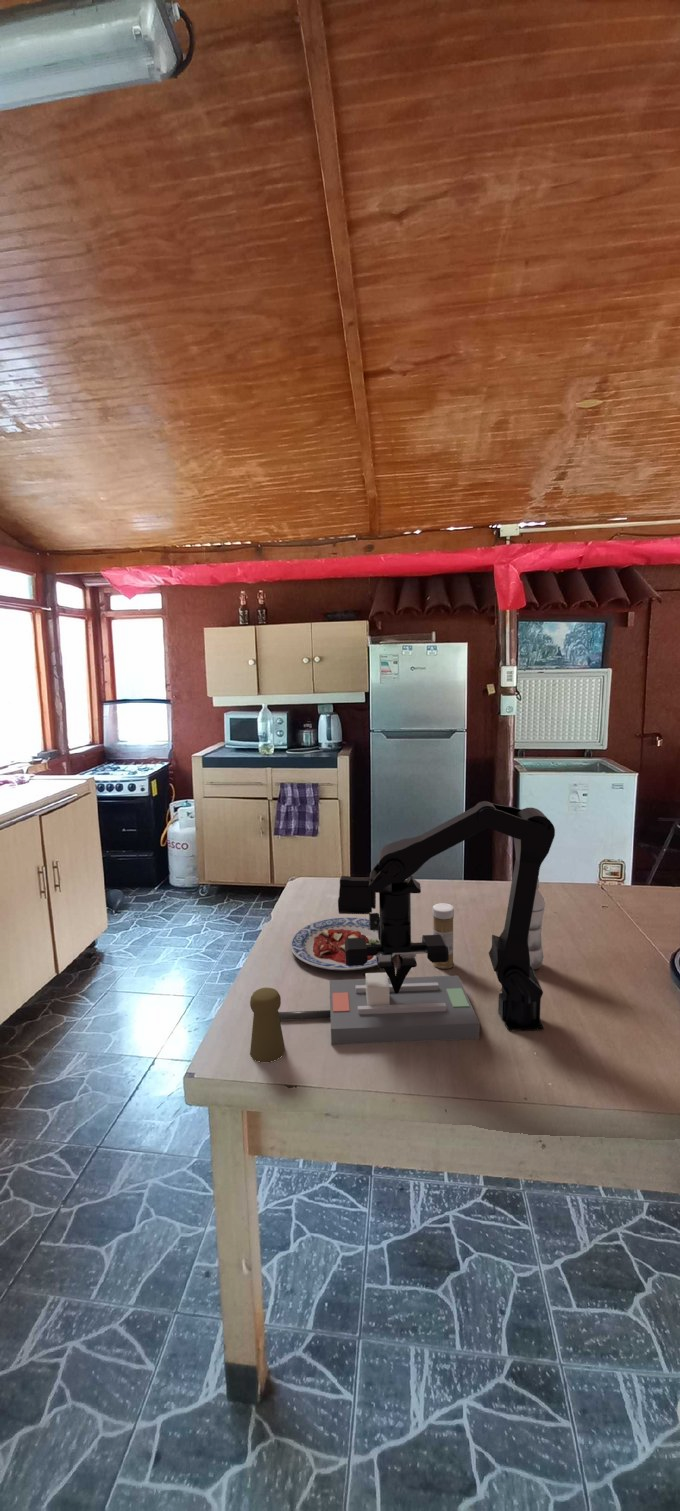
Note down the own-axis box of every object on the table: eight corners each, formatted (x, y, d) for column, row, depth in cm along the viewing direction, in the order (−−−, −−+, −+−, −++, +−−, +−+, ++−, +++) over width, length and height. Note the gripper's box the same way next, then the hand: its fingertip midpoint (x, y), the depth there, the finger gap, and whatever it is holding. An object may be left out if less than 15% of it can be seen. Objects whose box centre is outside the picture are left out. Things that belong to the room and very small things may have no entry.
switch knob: (386, 991, 113) (386, 972, 112) (389, 1006, 108) (389, 986, 107) (365, 992, 113) (365, 973, 112) (367, 1007, 108) (367, 987, 107)
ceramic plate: (273, 970, 128) (273, 957, 128) (310, 921, 153) (310, 910, 153) (389, 985, 122) (389, 972, 121) (409, 931, 146) (409, 919, 146)
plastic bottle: (506, 967, 127) (508, 879, 124) (520, 955, 132) (522, 870, 129) (534, 977, 123) (537, 886, 120) (548, 965, 128) (551, 877, 125)
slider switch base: (458, 989, 119) (458, 970, 118) (479, 1038, 103) (479, 1018, 103) (280, 995, 118) (279, 977, 117) (273, 1047, 102) (273, 1025, 102)
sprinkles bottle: (451, 959, 131) (451, 902, 129) (455, 969, 127) (456, 910, 125) (430, 959, 131) (430, 902, 129) (434, 970, 127) (434, 911, 125)
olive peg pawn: (268, 1035, 105) (265, 978, 104) (292, 1049, 102) (290, 990, 100) (242, 1053, 101) (239, 993, 99) (267, 1067, 97) (264, 1006, 95)
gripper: (437, 894, 116) (437, 968, 118) (342, 898, 115) (344, 972, 118) (449, 918, 105) (449, 999, 107) (344, 922, 104) (347, 1003, 107)
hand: (396, 992), depth 110 cm, fingers closed
